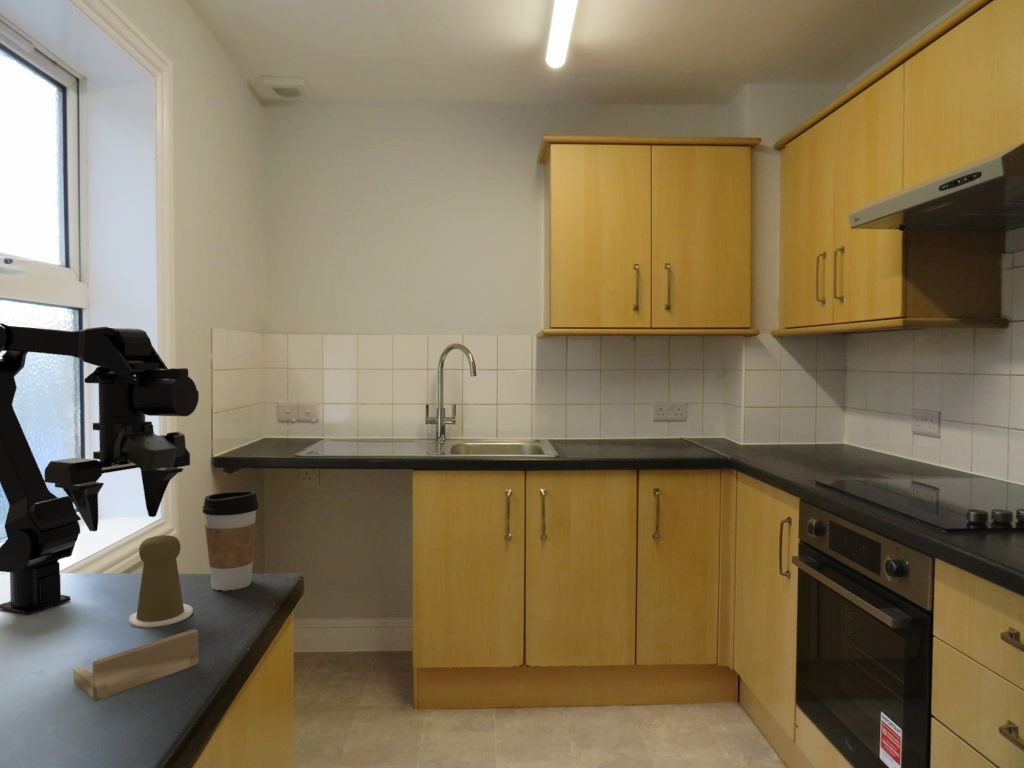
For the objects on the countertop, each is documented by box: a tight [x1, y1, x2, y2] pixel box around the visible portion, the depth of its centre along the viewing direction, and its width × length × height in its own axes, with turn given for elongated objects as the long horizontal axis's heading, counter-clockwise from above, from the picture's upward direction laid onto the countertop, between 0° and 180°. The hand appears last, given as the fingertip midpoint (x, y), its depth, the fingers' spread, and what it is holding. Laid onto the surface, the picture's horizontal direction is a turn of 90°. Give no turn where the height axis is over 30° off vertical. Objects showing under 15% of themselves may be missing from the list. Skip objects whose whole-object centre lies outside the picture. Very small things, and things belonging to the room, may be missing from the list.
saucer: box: [128, 603, 194, 628], centre depth 94 cm, size 8×8×1 cm
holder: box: [73, 628, 199, 702], centre depth 77 cm, size 6×11×4 cm, turn 142°
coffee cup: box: [202, 490, 259, 592], centre depth 107 cm, size 8×8×15 cm
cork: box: [136, 534, 184, 622], centre depth 94 cm, size 6×6×11 cm
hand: (124, 523), depth 95 cm, fingers open, 9 cm apart
